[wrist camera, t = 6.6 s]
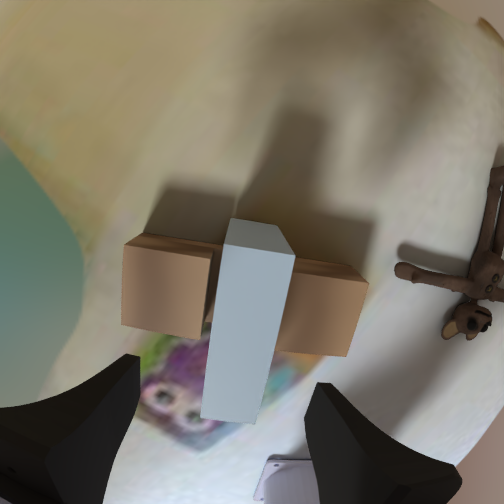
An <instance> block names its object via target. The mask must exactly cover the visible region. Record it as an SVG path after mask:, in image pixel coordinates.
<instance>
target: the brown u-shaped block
mask: <svg viewBox="0 0 504 504" xmlns="http://www.w3.org/2000/svg"><path fill="white" fill-rule="evenodd" d="M223 247H224V246H223V245H217V244H211V243H204V242H198V241H192V240H185V239H179V238H173V237H167V236H160V235H154V234H148V233H141V234H140V235H138V236H137V237H135V238H134V239H132V240H131V241H129V242H127V243H126V244H124V253H123V271H122V303H121V325H125V326H129V327H134V328H139V329H143V330H148V331H153V332H158V333H164V334H169V335H174V336H180V337H185V338H191V339H197V340H200V338H201V333H202V329H203V325H204V321H206V322H213V315H214V307H215V300H216V293H217V287H218V280H219V273H220V266H221V260H222V253H223ZM368 286H369V283H368V282H367V281H366V280H365V279H364V278H363V277H362V276H361V275H360V274H359V273H358V272H357V271H356V270H355V269H353V268H352V267H351V266H348V265H342V264H336V263H329V262H323V261H317V260H311V259H304V258H298V257H295V260H294V265H293V270H292V274H291V279H290V284H289V288H288V293H287V297H286V302H285V306H284V310H283V315H282V319H281V324H280V328H279V332H278V336H277V341H276V345H275V349H274V350H275V351H284V352H294V353H304V354H315V355H328V356H342V357H346V356H347V353H348V350H349V347H350V344H351V341H352V338H353V335H354V332H355V329H356V326H357V323H358V319H359V316H360V313H361V310H362V306H363V303H364V300H365V296H366V293H367V289H368Z"/></svg>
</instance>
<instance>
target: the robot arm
mask: <svg viewBox="0 0 504 504" xmlns="http://www.w3.org/2000/svg"><path fill="white" fill-rule="evenodd" d="M139 398H140V357H139V356H135V355H130V354H125V355H123V356H122V357H120V358H119V359H118V360H116V361H115V362H113V363H112V364H111V365H109V366H108V367H106V368H105V369H104V370H102V371H101V372H99V373H98V374H96V375H95V376H93V377H92V378H90V379H88V380H87V381H85V382H83V383H82V384H80V385H78V386H76V387H74V388H72V389H70V390H68V391H66V392H63V393H61V394H59V395H56V396H53V397H50V398H47V399H44V400H41V401H38V402H34V403H30V404H26V405H21V406H14V407H5V408H0V504H103V499H104V495H105V491H106V487H107V483H108V479H109V476H110V472H111V469H112V465H113V462H114V459H115V457H116V454H117V452H118V449H119V447H120V445H121V443H122V441H123V438H124V436H125V434H126V432H127V430H128V427H129V425H130V423H131V421H132V419H133V416H134V414H135V411H136V408H137V405H138V401H139ZM304 421H305V432H306V439H307V443H308V448H309V452H310V456H311V459H312V460H268V461H267V462H266V464H265V467H264V469H263V472H262V475H261V478H260V480H259V483H258V486H257V488H256V491H255V494H254V496H253V499H254V500H255V501H264V504H447V502H448V501H449V500H450V499H451V498H452V497H453V496H454V495H455V494H456V493H457V491H458V490H459V489H460V487H461V485H462V478H461V476H460V475H459V473H458V471H457V470H456V468H455V466H454V465H453V464H449V463H446V462H442V461H439V460H436V459H433V458H430V457H428V456H425V455H423V454H421V453H418V452H416V451H414V450H412V449H410V448H408V447H406V446H405V445H403V444H401V443H399V442H398V441H396V440H394V439H393V438H391V437H390V436H388V435H387V434H386V433H384V432H383V431H381V430H380V429H379V428H377V427H376V426H375V425H374V424H373V423H371V422H370V421H369V420H368V419H367V418H366V417H364V416H363V415H362V414H361V413H360V412H359V411H358V410H357V409H356V408H355V407H354V406H353V405H352V404H351V403H350V402H349V401H348V400H347V399H346V398H345V397H344V396H343V395H342V394H341V393H340V392H339V391H338V390H337V389H336V388H335V387H334V386H333V385H332V384H331V383H319V382H317V384H316V387H315V390H314V392H313V395H312V398H311V401H310V403H309V406H308V409H307V411H306V414H305V417H304Z"/></svg>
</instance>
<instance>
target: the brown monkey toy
mask: <svg viewBox="0 0 504 504" xmlns="http://www.w3.org/2000/svg"><path fill="white" fill-rule="evenodd" d="M502 184H503V190H502V198H501V205H500V211H499V217H498V223H497V228H496V233H495V238H494V243H493V248H492V252H490V251H489V248H490V243H491V238H492V233H493V228H494V223H495V217H496V211H497V206H498V201H499V198H500V196H501V191H500V187H501V185H502ZM487 192H488V197H487V204H486V210H485V216H484V221H483V226H482V231H481V236H480V240H479V245H478V249H477V252H476V253H475V254H474V256H473V258H472V259H471V267H470V272H469V275H468V278H464V277H460V276H454V275H448V274H443V273H437V272H432V271H428V270H424V269H421V268H418V267H416V266H414V265H412V264H409V263H406V262H399V263H397V264H396V265H395V269H394V271H395V275H396V277H398V278H400V279H405V280H409V281H412V283H424V284H429V285H434V286H438V287H442V288H446V289H450V290H451V291H453V292H455V291H457V292H461V293H465V294H466V295H467V296H469V297H470V298H471V300H470V301H469V302H467V303H464V304H461V305H459V306H458V307H457V308H456V309H455V311H454V314H453V317H452V319H451V320H449V321H448V322H447V323H446V324H445V325H444V327H443V329H442V332H441V336H442V338H443V339H445V340H447V339H450V338H451V337H453V336H454V335H456V334H458V333H464V334H466V339H467V340H472V339H474V338H475V337H476V336H477V334H478V333H479V332H485V331H486V330H487V329H488V326H491V322H492V314H491V312H490V311H489V310H488V309H487V308H485V307H482V306H479V305H478V304H477V301H478V300H485V299H489V300H490V301H492V302H494V301H500V302H504V290H503V289H501V288H499V287H496V286H497V285H498V283H499V282H500V281H501V279H502V277H503V275H504V260H502V259H501V256H502V251H503V247H504V166H500V167H496V168H492V169H491V172H490V184H489V187H488V191H487Z"/></svg>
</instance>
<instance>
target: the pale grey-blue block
mask: <svg viewBox="0 0 504 504" xmlns="http://www.w3.org/2000/svg"><path fill="white" fill-rule="evenodd" d="M294 260H295V254H294V252H293V251H292V249H291V247H290V246H289V244H288V242H287V241H286V239H285V237H284V236H283V234H282V233H281V231H280V229H279V228H278V226H277V225H272V224H266V223H260V222H254V221H248V220H242V219H235V218H231V219H230V222H229V226H228V230H227V234H226V238H225V242H224V247H223V253H222V260H221V266H220V273H219V280H218V287H217V293H216V300H215V307H214V315H213V322H212V329H211V336H210V344H209V351H208V359H207V367H206V375H205V383H204V391H203V399H202V408H201V416H200V418H206V419H213V420H220V421H228V422H237V423H246V424H256V420H257V416H258V412H259V409H260V405H261V401H262V397H263V393H264V389H265V385H266V381H267V377H268V373H269V369H270V365H271V361H272V357H273V353H274V349H275V345H276V341H277V336H278V332H279V328H280V324H281V319H282V315H283V310H284V306H285V302H286V297H287V293H288V288H289V284H290V279H291V274H292V270H293V265H294Z"/></svg>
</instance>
